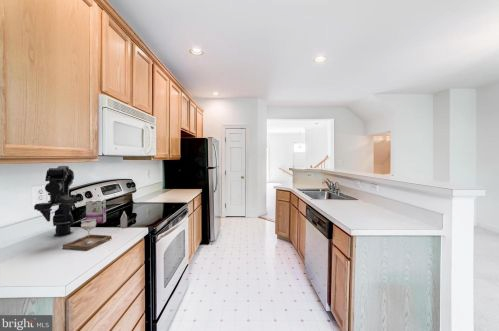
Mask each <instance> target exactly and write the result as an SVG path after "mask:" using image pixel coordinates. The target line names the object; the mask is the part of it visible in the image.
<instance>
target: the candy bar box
mask: <svg viewBox="0 0 499 331" xmlns="http://www.w3.org/2000/svg"><path fill="white" fill-rule="evenodd" d="M106 203H107V200H106V199H99V200H98V199H97V200H96V199H94V200H92V199H91V200H86V201H85V220H87V219H96V225H98V224H104V223H106V222H107V206H106V205H107V204H106Z"/></svg>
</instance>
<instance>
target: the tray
mask: <svg viewBox="0 0 499 331" xmlns="http://www.w3.org/2000/svg"><path fill="white" fill-rule="evenodd" d="M110 239H111V240H112V235H109V234H106V235H105V234H90V237H89V240H88V234H87V235H85V236H82V237H80V238H77V239H75V240H72V241H70V242H67V243H65V244H62V250H73V251H89V250H91V249H93V248H95V247H98V246H100V245H102V244H104V243H106V242H108V241H111V240H110ZM87 241H95V242H93V243H90V244H83V243H84V242H87Z"/></svg>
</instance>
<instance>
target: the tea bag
mask: <svg viewBox="0 0 499 331" xmlns="http://www.w3.org/2000/svg"><path fill="white" fill-rule="evenodd" d="M122 212H123V213H122V215H121V217H120V229H124V228H128V216H127V214H126V211H125V210H124V211H122Z"/></svg>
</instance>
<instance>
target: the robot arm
mask: <svg viewBox="0 0 499 331" xmlns="http://www.w3.org/2000/svg"><path fill="white" fill-rule="evenodd" d="M74 180H75V174H74V171H73V170H72V169H71V168H70V167H69V165H59V166H57V167H54V168H53V167H49V168H48V170H46V173H45V182H48V183H46V185H45V186H44V190H45V192H46V193H47V195H48V196H49V200H48V201H47V202H41V203H40V202H39V203H35V205H34V206H33V208H34V209H33V211H34V210H36V211H38V212H40V214H42V216H43V217H44V219H45V220H46V222H49V223H50V221H51V212H52V210H53V208H52V207H55V206H58V207H57V209H55V211H54V215H53V216H52V226H53V227H55V233H54V234H53V236H57V237H59V236H60V237H65V236H66V235H70V234H72V233H74V232H73V231H71V230H72V229H71V225H72V224H74V216H73V214H72V212H71V209H72V207H73V206H75V205H76V204H78V199H77V195H76V194H70V193H69V192H70V186H72V184H73V181H74ZM69 194H70V195H69Z"/></svg>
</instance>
